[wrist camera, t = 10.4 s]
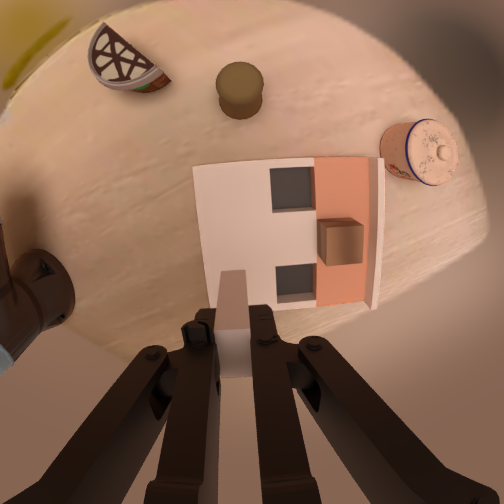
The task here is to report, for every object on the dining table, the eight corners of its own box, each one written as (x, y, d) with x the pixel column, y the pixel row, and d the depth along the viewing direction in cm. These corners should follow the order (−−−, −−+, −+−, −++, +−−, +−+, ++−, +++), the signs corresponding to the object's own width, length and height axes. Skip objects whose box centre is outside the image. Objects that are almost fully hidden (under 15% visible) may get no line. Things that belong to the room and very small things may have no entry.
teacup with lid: (375, 175, 40) (415, 183, 29) (379, 117, 38) (419, 109, 27) (435, 185, 41) (479, 196, 30) (438, 133, 38) (484, 132, 27)
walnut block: (317, 253, 41) (326, 266, 36) (316, 219, 39) (326, 227, 35) (350, 251, 41) (362, 263, 36) (350, 217, 39) (364, 225, 35)
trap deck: (213, 306, 46) (209, 326, 41) (195, 165, 39) (188, 167, 34) (363, 291, 46) (376, 308, 41) (366, 157, 40) (384, 158, 34)
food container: (100, 71, 34) (68, 55, 24) (128, 43, 33) (101, 20, 23) (147, 117, 37) (120, 107, 27) (178, 86, 36) (159, 67, 26)
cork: (267, 114, 37) (275, 99, 27) (224, 124, 38) (218, 112, 27) (256, 76, 36) (260, 49, 25) (214, 86, 36) (204, 62, 25)
